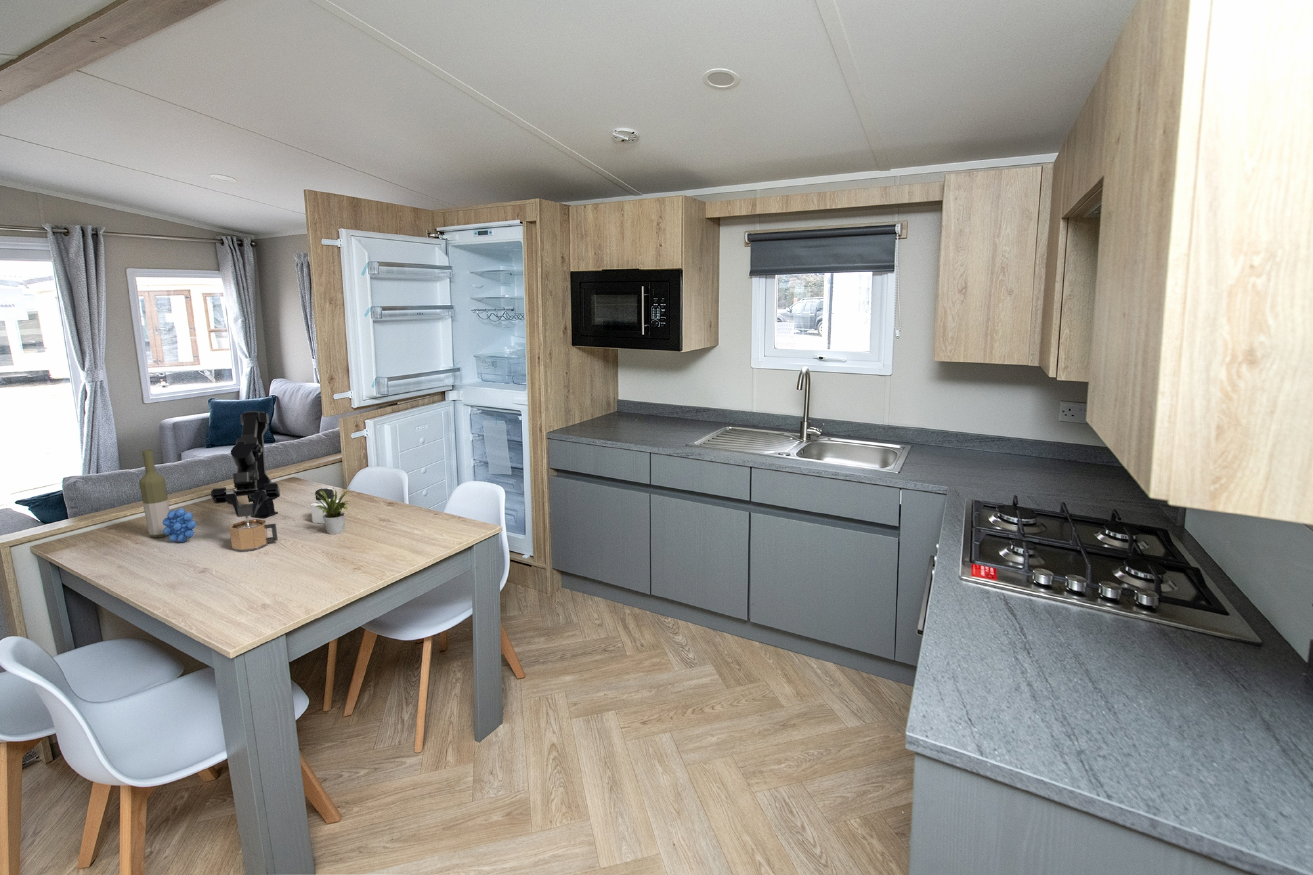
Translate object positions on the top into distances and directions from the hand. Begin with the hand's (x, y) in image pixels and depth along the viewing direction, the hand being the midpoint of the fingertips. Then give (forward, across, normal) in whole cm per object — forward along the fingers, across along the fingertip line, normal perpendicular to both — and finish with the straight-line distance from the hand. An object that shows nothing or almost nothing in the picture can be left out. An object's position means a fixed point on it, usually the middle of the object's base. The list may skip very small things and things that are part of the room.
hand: (245, 515), depth 209 cm
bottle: (-10, -30, +26) cm, 41 cm away
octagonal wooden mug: (+7, +1, +9) cm, 11 cm away
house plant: (+4, +24, +11) cm, 27 cm away
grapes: (-3, -21, +19) cm, 28 cm away
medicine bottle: (-6, +22, +22) cm, 31 cm away
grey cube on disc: (+3, 0, +4) cm, 5 cm away
